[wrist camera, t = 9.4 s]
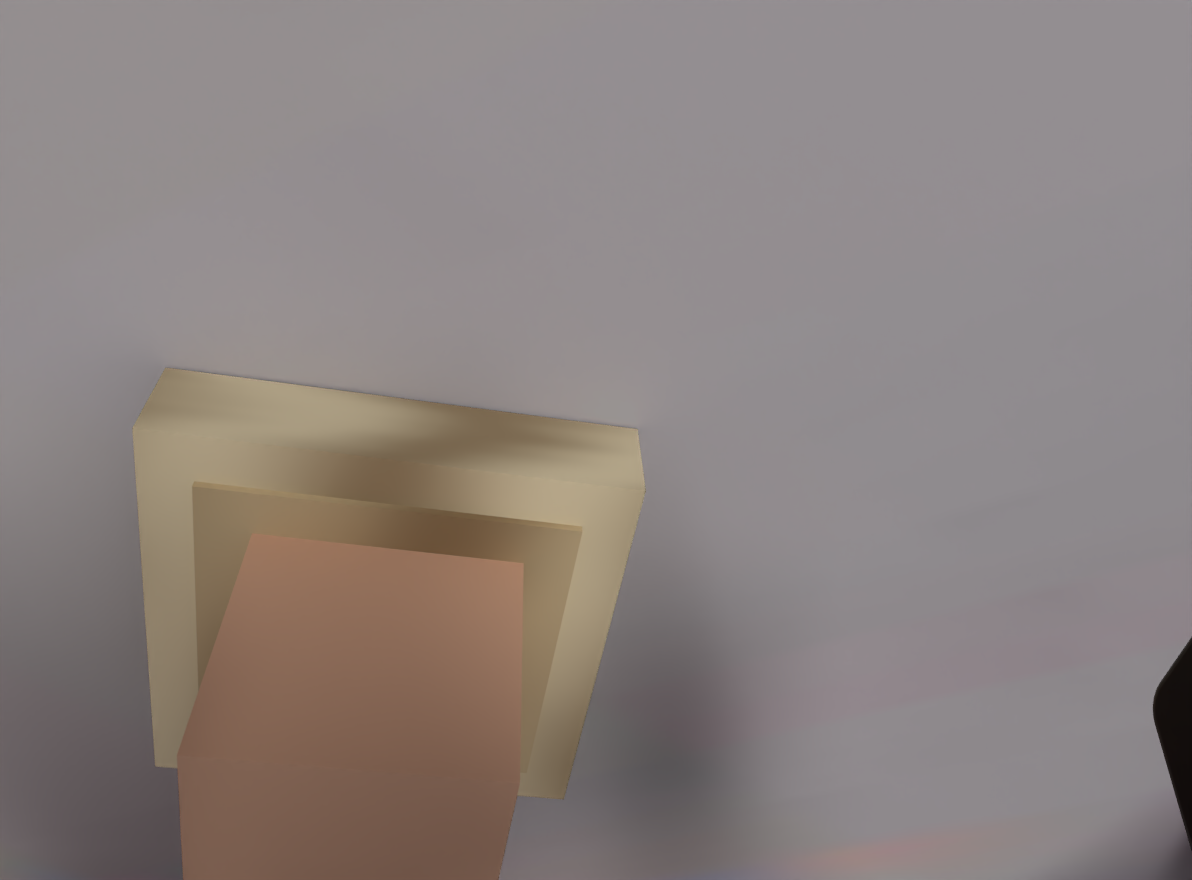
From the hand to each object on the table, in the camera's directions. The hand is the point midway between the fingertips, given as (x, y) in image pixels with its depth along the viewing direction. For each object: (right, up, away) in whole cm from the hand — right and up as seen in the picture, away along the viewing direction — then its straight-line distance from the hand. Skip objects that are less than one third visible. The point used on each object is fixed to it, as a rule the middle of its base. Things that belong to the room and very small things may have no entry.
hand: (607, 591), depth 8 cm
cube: (-4, -3, +14) cm, 15 cm away
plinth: (-5, -2, +16) cm, 16 cm away
